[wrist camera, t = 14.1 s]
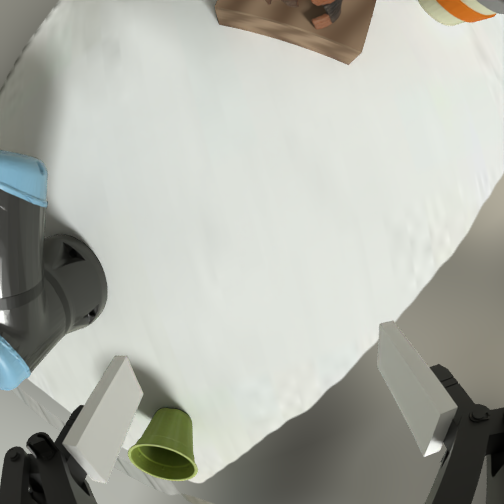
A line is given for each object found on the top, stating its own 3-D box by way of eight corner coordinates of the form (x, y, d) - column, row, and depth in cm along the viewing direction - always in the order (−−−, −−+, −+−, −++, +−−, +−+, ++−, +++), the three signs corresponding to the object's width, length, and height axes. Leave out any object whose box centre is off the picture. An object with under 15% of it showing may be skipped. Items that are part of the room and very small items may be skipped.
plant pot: (139, 424, 51) (123, 465, 40) (151, 389, 48) (133, 434, 37) (194, 444, 52) (186, 487, 41) (213, 412, 49) (207, 460, 38)
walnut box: (219, 26, 32) (214, 6, 27) (247, -32, 29) (247, -54, 23) (347, 66, 34) (361, 52, 28) (365, 5, 31) (379, -13, 25)
